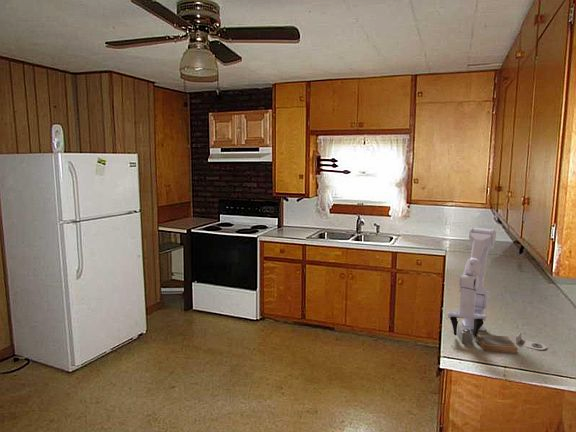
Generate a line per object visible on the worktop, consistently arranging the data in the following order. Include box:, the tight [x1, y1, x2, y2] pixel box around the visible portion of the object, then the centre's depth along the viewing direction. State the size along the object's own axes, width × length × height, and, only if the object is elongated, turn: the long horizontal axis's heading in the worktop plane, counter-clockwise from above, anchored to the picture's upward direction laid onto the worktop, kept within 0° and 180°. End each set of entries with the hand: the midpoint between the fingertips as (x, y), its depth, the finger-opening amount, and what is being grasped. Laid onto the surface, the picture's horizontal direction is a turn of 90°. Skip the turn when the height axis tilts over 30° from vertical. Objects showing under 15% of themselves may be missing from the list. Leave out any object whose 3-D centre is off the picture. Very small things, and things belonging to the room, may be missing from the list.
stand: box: [476, 333, 519, 354], centre depth 163 cm, size 10×12×2 cm
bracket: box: [515, 331, 547, 351], centre depth 164 cm, size 7×10×3 cm, turn 47°
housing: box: [456, 324, 474, 345], centre depth 169 cm, size 8×4×5 cm, turn 170°
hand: (464, 335), depth 169 cm, fingers open, 7 cm apart
